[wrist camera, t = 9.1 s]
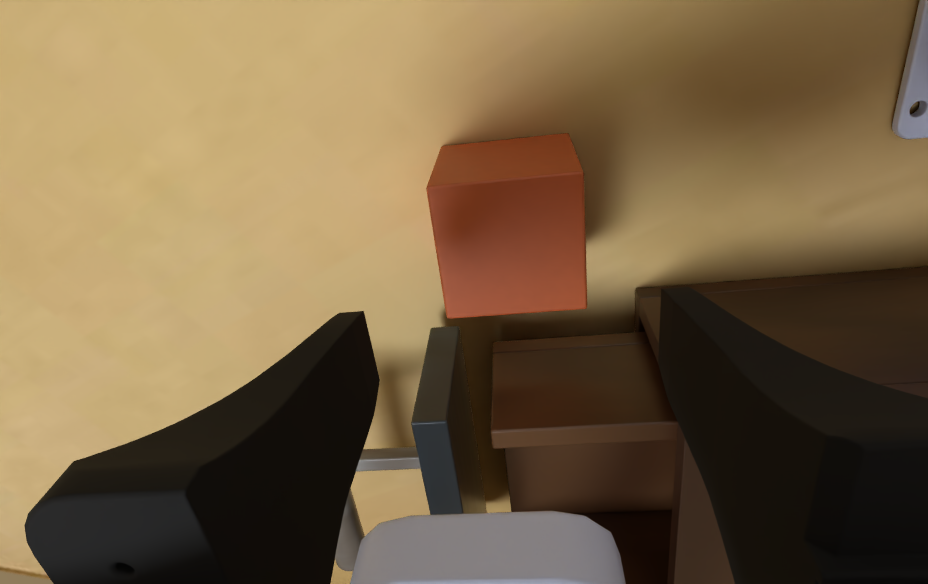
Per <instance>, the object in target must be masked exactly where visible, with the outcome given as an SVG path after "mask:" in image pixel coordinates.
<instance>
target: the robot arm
mask: <svg viewBox="0 0 928 584" xmlns="http://www.w3.org/2000/svg"><path fill="white" fill-rule="evenodd" d="M918 101H919V102H920V106H919V108H918V110H917V111H916V112H915V113H913V114H910V111H909V110H910V108H911V106H912V105H913V104H914V103H915V102H918ZM892 130H893V132H894V134H896V135H897V136H899V137H901V138H904V139H918V138H928V0H920V1H919V5H918V10H917V14H916V19H915V23H914V28H913V32H912V37H911V41H910V46H909V50H908V55H907V59H906V64H905V68H904V73H903V78H902V82H901V87H900V91H899V96H898V100H897V105H896V109H895V114H894V118H893V123H892ZM658 364H659V368H660V372H661V376H662V380H663V383H664V387H665V390H666V394H667V397H668V400H669V402H670V405H671V407H672V410H673V412H674V414H675V417H676V419H677V421H678V424H679V426H680V428H681V430H682V433H683V435H684V437H685V440H686V442H687V444H688V446H689V449H690V451H691V453H692V456H693V458H694V460H695V462H696V465H697V467H698V469H699V472H700V474H701V476H702V479H703V481H704V484H705V487H706V489H707V492H708V494H709V498H710V501H711V504H712V507H713V511H714V514H715V517H716V520H717V524H718V527H719V530H720V533H721V537H722V540H723V544H724V547H725V551H726V554H727V558H728V561H729V565H730V568H731V571H732V575H733V579H734V582H735V584H928V398H925V397H922V396H918V395H914V394H911V393H907V392H903V391H900V390H896V389H893V388H890V387H887V386H884V385H880V384H877V383H874V382H871V381H868V380H866V379H863V378H860V377H857V376H854V375H852V374H849V373H846V372H843V371H841V370H838V369H836V368H833V367H831V366H828V365H826V364H824V363H821V362H819V361H817V360H815V359H812V358H810V357H808V356H806V355H803V354H801V353H799V352H797V351H795V350H793V349H791V348H789V347H787V346H785V345H783V344H781V343H780V342H778V341H776V340H774V339H772V338H770V337H769V336H767V335H765V334H763V333H761V332H760V331H758V330H756V329H755V328H753V327H751V326H750V325H748V324H746V323H745V322H743V321H742V320H740V319H738V318H737V317H735V316H734V315H732V314H731V313H729V312H727V311H726V310H724V309H723V308H721V307H720V306H718V305H717V304H715V303H714V302H712V301H711V300H709V299H708V298H706V297H705V296H703V295H702V294H700V293H699V292H697V291H696V290H694V289H692V288H690V287H678V288H665V289H661V306H660V329H659V353H658ZM379 381H380V379H379V375H378V371H377V366H376V362H375V358H374V354H373V349H372V345H371V341H370V336H369V332H368V328H367V324H366V319H365V315H364V311H359V312H346V313H339V314H337V315H336V316H334V317H333V318H331V319H330V320H329V321H328V322H326V323H325V324H324V325H323V326H321V327H320V328H319V329H318V330H317V331H315V332H314V333H313V334H312V335H311V336H309V337H308V338H307V339H306V340H304V341H303V342H302V343H301V344H300V345H298V346H297V347H296V348H295V349H293V350H292V351H291V352H290V353H289V354H287V355H286V356H285V357H283V358H282V359H281V360H279V361H278V362H277V363H275V364H274V365H273V366H271V367H270V368H269V369H267V370H266V371H265V372H263V373H262V374H261V375H259V376H258V377H256V378H255V379H253V380H252V381H250V382H249V383H247V384H246V385H244V386H243V387H241V388H240V389H238V390H236V391H235V392H233V393H231V394H230V395H228V396H227V397H225V398H223V399H222V400H220V401H218V402H216V403H214V404H212V405H210V406H209V407H207V408H205V409H203V410H201V411H199V412H197V413H195V414H193V415H191V416H189V417H187V418H185V419H183V420H181V421H179V422H177V423H175V424H173V425H170V426H168V427H166V428H164V429H162V430H159V431H157V432H154V433H152V434H150V435H147V436H145V437H142V438H140V439H137V440H135V441H132V442H129V443H127V444H124V445H121V446H118V447H115V448H112V449H110V450H107V451H104V452H101V453H98V454H95V455H92V456H89V457H86V458H83V459H80V460H76V461H74V462H73V463H72V464H71V465H70V466H69V467H68V468H67V470H66V471H65V472H64V473H63V474H62V475H61V476H60V478H59V479H58V480H57V481H56V482H55V483H54V485H53V486H52V487H51V488H50V489H49V490H48V491H47V493H46V494H45V495H44V496H43V497H42V498H41V500H40V501H39V502H38V503H37V504H36V505H35V506H34V508H33V509H32V510H31V511H30V512H29V513H28V516H27V519H26V523H25V532H26V539H27V543H28V545H29V547H30V549H31V551H32V553H33V554H34V556H35V558H36V559H37V561H38V562H39V563H40V565H41V566H42V568H43V569H44V570H45V572H46V573H47V575H48V576H49V578H50V579H51V580H52V582H53V583H54V584H330V582H331V577H332V571H333V565H334V560H335V554H336V549H337V543H338V539H339V534H340V529H341V524H342V519H343V514H344V509H345V505H346V501H347V498H348V494H349V491H350V487H351V484H352V481H353V478H354V475H355V472H356V469H357V466H358V463H359V460H360V457H361V454H362V451H363V448H364V445H365V442H366V438H367V435H368V432H369V429H370V426H371V423H372V419H373V416H374V411H375V406H376V400H377V394H378V387H379ZM350 584H626V583H625V578H624V573H623V568H622V562H621V557H620V553H619V551H618V548H617V546H616V543H615V541H614V538H613V536H612V534H611V532H610V531H608V530H607V529H605V528H603V527H602V526H600V525H599V524H597V523H596V522H594V521H592V520H591V519H589V518H588V517H586V516H583V515H578V514H571V513H564V512H557V511H529V512H500V513H471V514H443V515H414V516H407V517H403V518H399V519H395V520H390V521H386V522H382V523H379V524H378V525H377V526H376V527H375V528H374V529H373V530H371V531H370V532H369V533H368V534H367V535H366V536H365V537H364V538H363V539H362V540H361V543H360V547H359V551H358V554H357V558H356V562H355V566H354V570H353V574H352V578H351V582H350Z"/></svg>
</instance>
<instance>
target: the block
mask: <svg viewBox="0 0 928 584" xmlns="http://www.w3.org/2000/svg"><path fill="white" fill-rule="evenodd" d="M426 189H427V196H428V202H429V208H430V215H431V221H432V227H433V234H434V240H435V246H436V253H437V259H438V265H439V272H440V278H441V284H442V291H443V297H444V303H445V310H446V316H447V318H448V319H453V318H466V317H480V316H494V315H508V314H522V313H535V312H549V311H563V310H577V309H586V308H587V275H586V236H585V196H584V172H583V170H582V167H581V164H580V162H579V159H578V157H577V154H576V152H575V149H574V146H573V144H572V141H571V139H570V136H569V134H568V133H563V134H553V135H544V136H534V137H525V138H516V139H506V140H497V141H487V142H478V143H468V144H459V145H449V146H442V147H441V149H440V152H439V155H438V157H437V160H436V163H435V166H434V169H433V171H432V174H431V177H430V180H429V182H428V185H427V188H426Z"/></svg>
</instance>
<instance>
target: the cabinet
mask: <svg viewBox="0 0 928 584" xmlns="http://www.w3.org/2000/svg"><path fill="white" fill-rule="evenodd" d="M678 287H690V288H692V289H694V290H696V291H697V292H699V293H700V294H702V295H703V296H705V297H706V298H708V299H709V300H711V301H712V302H714V303H715V304H717V305H718V306H720V307H721V308H723V309H724V310H726V311H727V312H729V313H731V314H732V315H734V316H735V317H737V318H738V319H740V320H742V321H743V322H745V323H746V324H748V325H750V326H751V327H753V328H755V329H756V330H758V331H760V332H761V333H763V334H765V335H767V336H769V337H770V338H772V339H774V340H776V341H778V342H780V343H781V344H783V345H785V346H787V347H789V348H791V349H793V350H795V351H797V352H799V353H801V354H803V355H806V356H808V357H810V358H812V359H815V360H817V361H819V362H821V363H824V364H826V365H828V366H831V367H833V368H836V369H838V370H841V371H843V372H846V373H849V374H852V375H854V376H857V377H860V378H863V379H866V380H868V381H871V382H874V383H877V384H880V385H884V386H887V387H890V388H893V389H896V390H900V391H903V392H907V393H911V394H914V395H918V396H922V397H925V398H928V267H915V268H902V269H888V270H875V271H862V272H849V273H836V274H822V275H809V276H796V277H783V278H769V279H756V280H743V281H730V282H717V283H703V284H690V285H677V286H664V287H650V288H637V289H636V290H635V332H646V334H647V337H648V339H649V342H650V344H651V347H652V349H653V352H654V355H655V357H656V360H657V362H658V353H659V329H660V306H661V289H665V288H678ZM658 365H659V364H658ZM667 584H735V582H734V579H733V575H732V571H731V568H730V565H729V561H728V558H727V554H726V551H725V547H724V544H723V540H722V537H721V533H720V530H719V527H718V524H717V520H716V517H715V514H714V511H713V507H712V504H711V501H710V498H709V494H708V492H707V489H706V487H705V484H704V481H703V479H702V476H701V474H700V472H699V469H698V467H697V465H696V462H695V460H694V458H693V456H692V453H691V451H690V449H689V446H688V444H687V442H686V440H685V437H684V435H683V433H682V430H681V428H680V426H679V424H678V430H677V445H676V460H675V475H674V490H673V505H672V520H671V535H670V550H669V565H668V580H667Z"/></svg>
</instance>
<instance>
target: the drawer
mask: <svg viewBox="0 0 928 584" xmlns="http://www.w3.org/2000/svg"><path fill="white" fill-rule="evenodd" d="M411 425H412V430H413V434H414V439H415V444H416V447H404V448H384V449H363V451H362V454H361V457H360V460H359V463H358V466H357V469H356V471H375V470H398V469H421V472H422V477H423V481H424V486H425V491H426V496H427V500H428V505H429V510H430V514H431V515H443V514H471V513H487V510H486V503H485V497H484V490H483V483H482V476H481V469H480V463H479V456H478V449H477V442H476V435H475V429H474V422H473V415H472V408H471V401H470V395H469V388H468V381H467V374H466V367H465V361H464V354H463V347H462V340H461V333H460V328H459V326H451V327H437V328H431V330H430V335H429V340H428V345H427V349H426V354H425V359H424V364H423V369H422V373H421V378H420V383H419V388H418V393H417V398H416V402H415V407H414V412H413V417H412V422H411ZM677 430H678V421H677V419H676V417H675V414H674V412H673V410H672V407H671V405H670V402H669V400H668V397H667V394H666V390H665V387H664V383H663V380H662V376H661V372H660V368H659V365H658V362H657V360H656V357H655V355H654V352H653V349H652V347H651V344H650V342H649V339H648V337H647V334H646V332H634V333H620V334H605V335H590V336H575V337H560V338H545V339H531V340H516V341H501V342H493V365H492V396H491V427H490V433H491V441H492V446H493V448H495V449H496V448H504V452H505V461H506V469H507V477H508V486H509V494H510V503H511V511H512V512H529V511H557V512H564V513H571V514H578V515H583V516H586V517H588V518H589V519H591V520H592V521H594V522H596V523H597V524H599V525H600V526H602V527H603V528H605V529H607V530H608V531H610V532H611V534H612V536H613V538H614V541H615V543H616V546H617V548H618V551H619V553H620V557H621V562H622V568H623V573H624V578H625V583H626V584H667V580H668V565H669V550H670V535H671V520H672V505H673V490H674V475H675V460H676V445H677ZM364 537H365V536H364V532H363V529H362V526H361V522H360V519H359V515H358V512H357V509H356V505H355V502H354V499H353V495H352V492H351V488H350V491H349V494H348V498H347V501H346V505H345V509H344V514H343V519H342V524H341V529H340V534H339V539H338V543H337V549H336V554H335V560H336V563H337V565H338V567H339V568H341V569H342V570H345V571H353V570H354V566H355V562H356V558H357V554H358V551H359V547H360V543H361V540H362V539H363V538H364Z"/></svg>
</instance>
